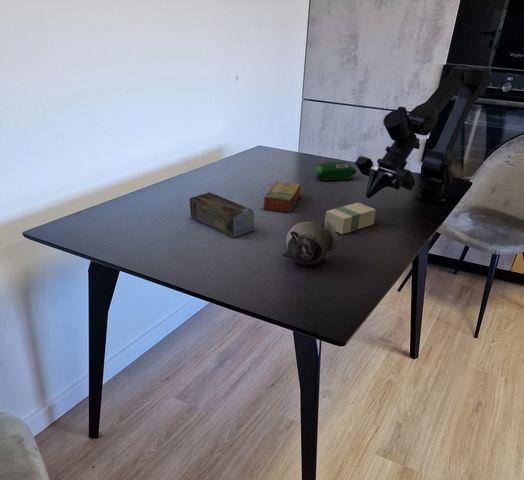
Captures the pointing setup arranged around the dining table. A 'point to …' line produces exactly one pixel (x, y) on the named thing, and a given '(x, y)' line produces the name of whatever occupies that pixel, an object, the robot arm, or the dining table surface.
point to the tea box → (350, 217)
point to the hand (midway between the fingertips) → (367, 197)
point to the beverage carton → (222, 214)
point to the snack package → (334, 171)
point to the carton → (282, 197)
